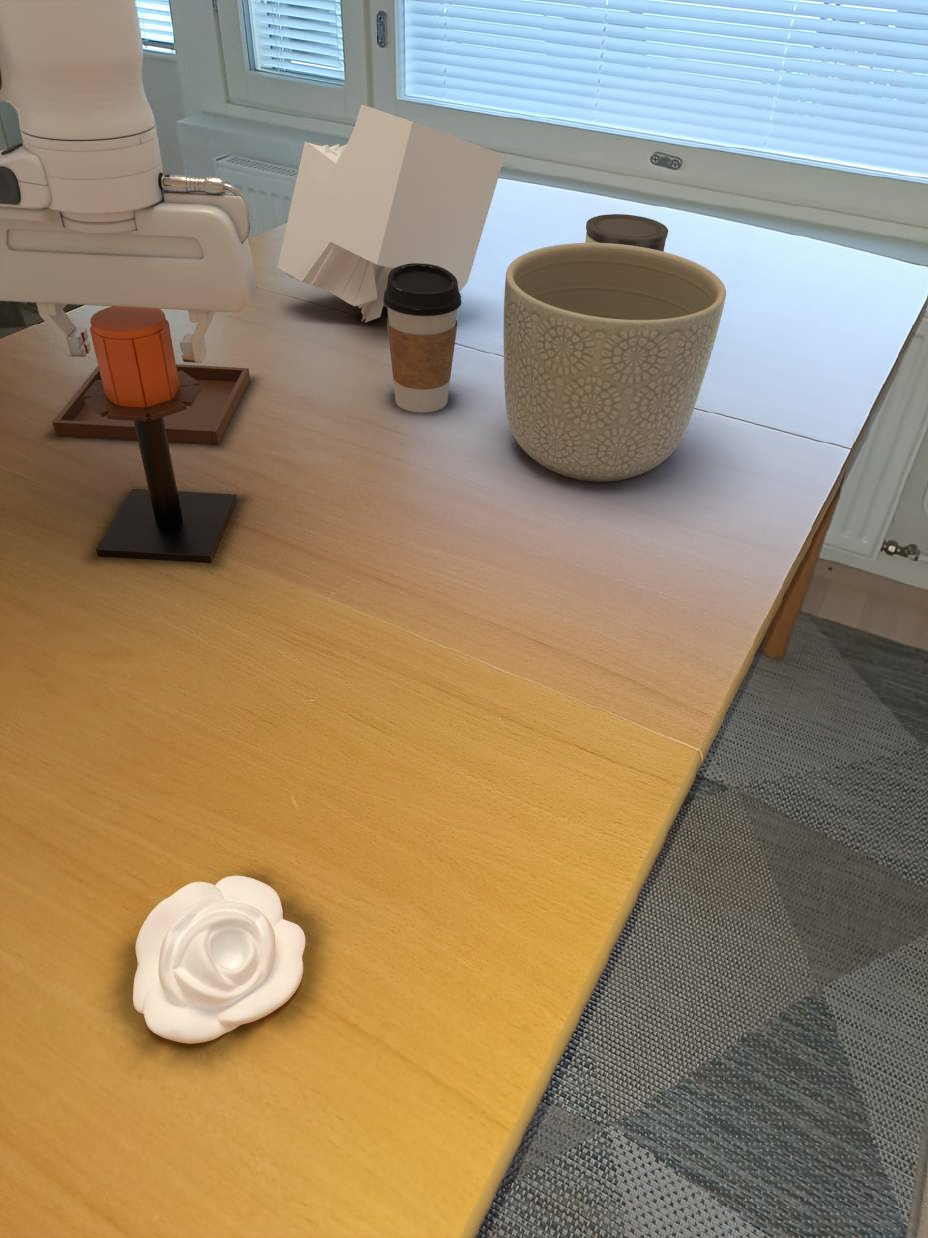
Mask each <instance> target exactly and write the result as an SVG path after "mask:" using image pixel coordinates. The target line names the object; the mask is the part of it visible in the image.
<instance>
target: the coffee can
mask: <svg viewBox="0 0 928 1238" xmlns="http://www.w3.org/2000/svg"><path fill="white" fill-rule="evenodd" d="M585 231H586V233H585V241H584V243H611V244H623V245H631V246H638V247H644V248H649V249H654V250H659V251H663V252H665V246H666V242H667V238H668V235H669V229H668V227H667V226H666V225H665V224H663V223H662V222H659V221H657V220H655V219H652V218H650V217H649V218H648V217H645V216H639V215H635V214H626V213H625V214H624V213H611V214H600V215H597V216H593V217H591V218H589V219H588V220H587V221H586V226H585Z"/></svg>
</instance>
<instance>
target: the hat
mask: <svg viewBox="0 0 928 1238" xmlns="http://www.w3.org/2000/svg"><path fill="white" fill-rule="evenodd" d="M89 321H90V322H89V323H90V327H89V332H90V336H91V341H92V345H93V350H94V354H95V357H96V362H97V366H98V367H99V371H100V375H101V380H96V381H95V382H94V383H93V385H92V386H91V387H90V388H89V390H88V391H87V392H86V394H85V395H84V402H85V404H86V405H87V406H88V407H90V408H91V409H92V410H93V411H94V412H96V413H97V414H98V415H99V416H101V417H105V416H107V418H108V419H113V420H131V421H146V419H147V418H148V417H150V418H151V419H152V420H156V419H159V418H162V417H165V416H168V415H171V414H174V413H177V412H180V411H183V410H186V409H187V408H186V406H192V405H193V403H194V401H195V399H196V398H197V396H198V394H199V393H200V391H201V386H200V383H199V382H198V381H196V380H195V379H194V378H192V377H191V376H189V375H188V374H186V373H185V372H183V371H182V370H181V371H178V372H177V367H176V364H177V362H176V356H175V351H174V345H173V339H172V333H171V328H170V322H169V320H167V318H166V314H165V312H164V311H163V309H156V308H135V307H115V306H107V307H106V308H102V309H100V310H98V311H96V312H95V313H94V314H92V316H91V317H90V320H89Z"/></svg>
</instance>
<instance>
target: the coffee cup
mask: <svg viewBox="0 0 928 1238" xmlns="http://www.w3.org/2000/svg"><path fill="white" fill-rule="evenodd" d="M383 302H384V304H385V305H386V306H387V307H386V308H387V316H388V317H387V319H386V326H387V334H388V343H389V352H390V362H391V372H392V378H393V389H394V399H395V400H394V401H395V404H396V406H398V407H399V408H401V409H403V410H405V411H408V412H411V413H421V414H422V413H423V414H424V413H433V412H436V411H439V410H442V409H444V408H445V407H446V405H447V404H448V401H449V400H448V399H449V389H450V380H451V377H452V376H451V375H452V368H453V362H454V361H453V360H454V353H455V347H456V346H455V345H456V339H457V330H458V324H459V323H458V320H457V316H458V309H459V308H461V306H462V303H463V301H462V294H461V291H460V292H459V291H458V282H457V279H456V277H455V276H454V275H453V274H452V273H450V272H449V271H448V270H446V269H444V268H442V267H439V266H436V265H431V264H422V263H411V264H405V265H401V266H398V267H396V268H394V269H392V270H391V271H390V272H389V275H388V281H387V289H386V290H385V292H384V299H383Z"/></svg>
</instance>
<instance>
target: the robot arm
mask: <svg viewBox="0 0 928 1238" xmlns="http://www.w3.org/2000/svg"><path fill="white" fill-rule="evenodd" d="M143 65H144V46H143V39H142V33H141V27H140V21H139V15H138V9H137V5H136V0H0V104H1V103H7V104H9V105H11V106H12V107H13V108H14V110H15V112H16V114H17V117H18V123H19V131H20V135H21V139H22V142H20V143H17V144H13V145H11V146H9V147H7V148H4V149H2V150H0V302H15V303H16V302H17V303H35V304H36V307H37V310H38V311H37V312H38V315H39V317H40V318H41V319H42V320H43V321H44V322H45V324H47V326H49V328H50V329H51V330H52V331H53V332H54V333H55V335H56V336H57V337H59V338H60V341H61V346H62V350H63V352H64V353H63V354H64V355H65V357H72V358H73V357H78V358H79V357H80V358H85V357H87V354H89V353H90V352H91V341H89V339H88V338H89V334H88V330H87V328H81V327H76V325H75V324H74V323H73V320H71V318H70V317H69V316H68V315H67V313H66V312H65V311H64V309H65V307H66V306H67V305H77V306H95V307H97V306H98V307H112V306H115V307H135V308H156V309H161V310H175V311H176V310H177V311H187V312H188V317H189V322H190V323H191V324H197V325H196V327H195V329H194V332H193V333H185V334H184V336H183V338H182V339H181V340H180V342H179V346H180V347H179V348H180V351H181V353H182V355H181V358H182V361H183V362H184V363H195V364H204V361H205V360H206V358H207V347H206V341H205V336H206V334H207V332H208V330H209V327H210V325H211V323H212V321H213V319H214V316H215V314H216V313H217V312H218V313H241V312H243V311H244V310H245V309H246V308H247V306H248V305H249V304H250V303H251V302H252V301H253V299H254V296H255V294H256V292H257V288H258V287H257V286H258V285H257V282H258V281H257V277H256V276H257V275H256V271H255V265H254V260H253V255H252V251H251V247H250V243H249V239H248V237H249V236H250V233H251V219H250V211H249V205H248V201H247V199H246V197H245V196H244V194H243V193H242V192H241V190H239V189H238V188H237V187H235V186H234V185H232V184H230V183H227V181H226V180H225V179H224V178H222V177H219V176H204V177H199V176H198V177H197V176H190V175H186V174H185V175H184V174H171V173H164V167H163V160H162V155H161V149H160V143H159V136H158V131H157V130H158V129H157V124H156V119H155V115H154V112H153V110H152V107H151V105H150V103H149V101H148V97H147V95H146V91H145V88H144V81H143ZM227 191H228V192H230V193H228V192H227ZM215 312H216V313H215Z"/></svg>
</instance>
